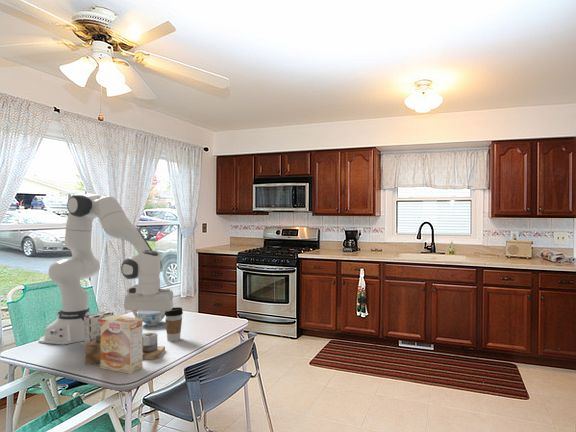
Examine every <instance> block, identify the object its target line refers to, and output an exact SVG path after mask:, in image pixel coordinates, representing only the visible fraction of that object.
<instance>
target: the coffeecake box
mask: <svg viewBox="0 0 576 432" xmlns="http://www.w3.org/2000/svg"><path fill="white" fill-rule="evenodd" d="M142 334H143V321H142V319H141V318H135V317H133V316H131V317H130V316H125V315H118V314H117V315H116V314H113V315H112V316H108V317H104V318H102V319H101V365H100V367H99V369H104V370H108V371H114V372H119V373H123V374H124V373H125V374H129V375H131V374H133V373H134V372H136V371H138V370H140V369H142V368H143V359H142Z"/></svg>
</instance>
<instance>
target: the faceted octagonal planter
mask: <svg viewBox="0 0 576 432" xmlns="http://www.w3.org/2000/svg"><path fill="white" fill-rule="evenodd" d="M148 333H152V335H151V336H147V334H148ZM156 343H157V344H158V333H156V332H146V333H142V345H143V346H150V345H154V344H156Z"/></svg>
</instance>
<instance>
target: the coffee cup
mask: <svg viewBox="0 0 576 432" xmlns="http://www.w3.org/2000/svg"><path fill="white" fill-rule="evenodd" d="M183 314H184V312H183V308H182V307H179V306H178V307H173V308H172V310H170V311H165V328H166V340H167V342H172V343H174V342H177V341H180V340H181V332H182V322H183Z"/></svg>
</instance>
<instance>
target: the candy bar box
mask: <svg viewBox="0 0 576 432" xmlns="http://www.w3.org/2000/svg"><path fill="white" fill-rule="evenodd" d="M112 315H114V311H112V310H103V311H100V312H97V313H92V314H89V315H87V316H84V340H83V341H84V348H85V344H87V343H89V342H90V341H92V340H94V339H96V336H97V335H101V319H102V318H104V317H108V316H112Z"/></svg>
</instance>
